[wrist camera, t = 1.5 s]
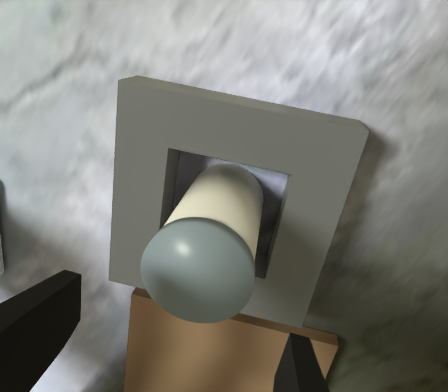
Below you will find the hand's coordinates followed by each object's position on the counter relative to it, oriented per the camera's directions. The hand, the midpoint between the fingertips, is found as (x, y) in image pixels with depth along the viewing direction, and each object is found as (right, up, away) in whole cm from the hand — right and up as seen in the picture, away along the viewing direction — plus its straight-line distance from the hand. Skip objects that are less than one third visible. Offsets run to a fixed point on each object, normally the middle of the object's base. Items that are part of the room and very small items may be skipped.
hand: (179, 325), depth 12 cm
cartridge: (+2, +4, +10) cm, 11 cm away
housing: (+2, +4, +10) cm, 11 cm away
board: (+1, -8, +15) cm, 17 cm away
